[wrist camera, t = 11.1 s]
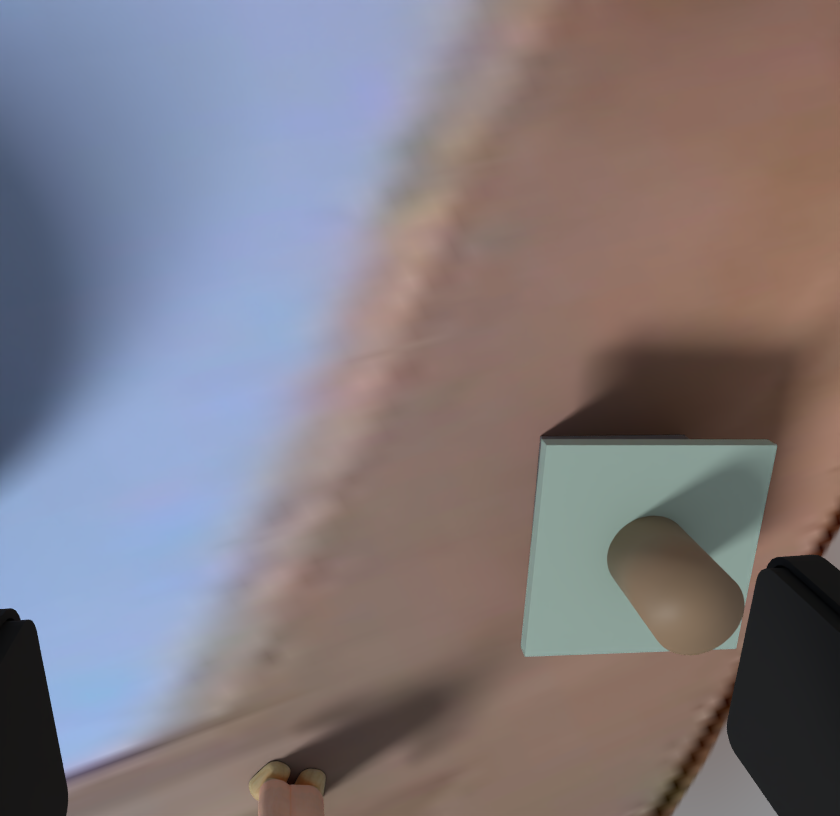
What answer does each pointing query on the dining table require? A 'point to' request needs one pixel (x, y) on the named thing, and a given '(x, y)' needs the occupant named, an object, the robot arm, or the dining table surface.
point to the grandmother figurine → (288, 791)
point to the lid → (643, 544)
